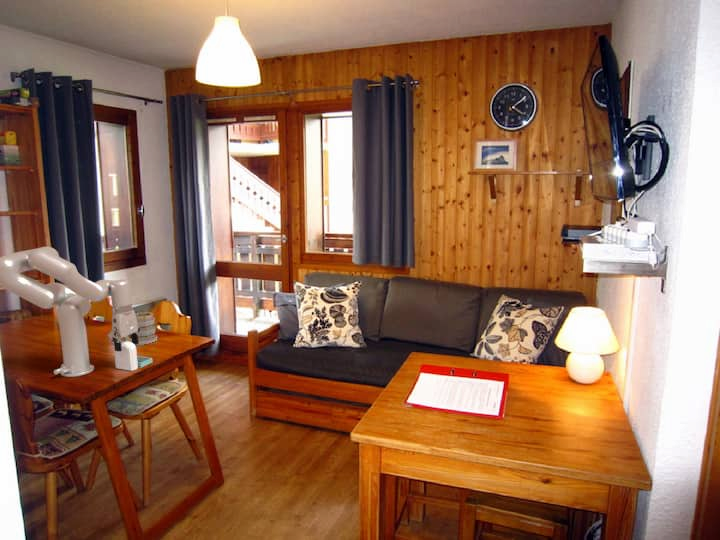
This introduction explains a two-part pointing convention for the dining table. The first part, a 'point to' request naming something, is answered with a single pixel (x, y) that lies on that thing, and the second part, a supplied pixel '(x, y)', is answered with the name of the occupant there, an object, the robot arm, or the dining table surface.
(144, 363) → the slot frame
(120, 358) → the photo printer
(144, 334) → the tankard
